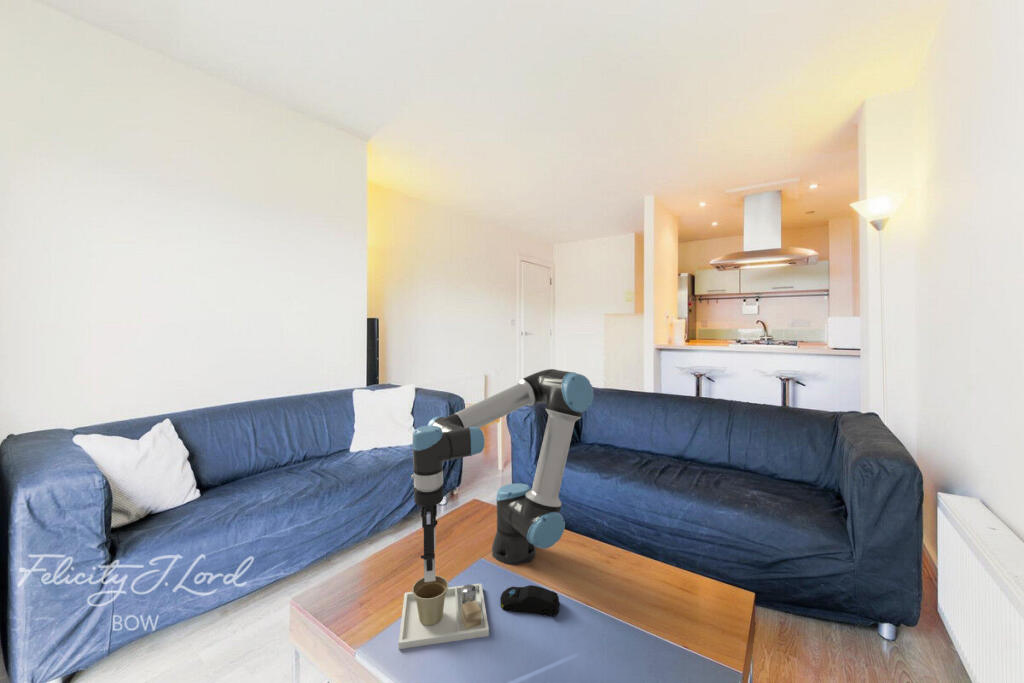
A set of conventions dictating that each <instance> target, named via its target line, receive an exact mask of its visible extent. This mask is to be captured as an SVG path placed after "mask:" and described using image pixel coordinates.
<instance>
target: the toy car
mask: <svg viewBox="0 0 1024 683" xmlns="http://www.w3.org/2000/svg"><path fill="white" fill-rule="evenodd" d="M500 608H501V609H502V610H503V611H505V612H512V613H522V614H531V615H532V614H533V615H539V616H542V617H543V616H547V617H548V616H549V617H554V616H556V615H558V614H559V612H560V598H559V595H558V593H557V592H555V591H552V590H549V589H547V588H544V587H542V586H537V585H533V584H531V585H530V584H529V585H526V586H509V587H507V588H506V589H505V590H504V591H503V592H502V593H501V595H500Z"/></svg>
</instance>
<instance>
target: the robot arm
mask: <svg viewBox="0 0 1024 683" xmlns="http://www.w3.org/2000/svg"><path fill="white" fill-rule="evenodd" d="M593 400H594V388H593V385H592V384H591V381H590V380H589V379H588V378H587V377H586V376H585V375H583V374H580V373H577V372H574V371H564V370H559V369H553V368H548V369H544V370H540V371H538V372H537V371H536V372H535V373H533V374H531V375H528V376H525V377H524V378H521V379H519V380H518V381H517V384H515V385H513V386H511V387H509V388H507V389H504V390H502V391H500V392H498V393H495V394H494V395H492V396H489V397H487V398H485V399H483V400H481V401H478V402H476V403H474V404H471V405H470V406H468V407H465V408H463V409H461V410H459V411H457V412H455V413H452V414H451V415H447V416H446V417H444V416H435V417H433V418H431V419H430V421H429V422H428V424H427V425H422V426H419V427H417V428H416V429H414V430H413V432H412V443H411V444H412V445H411V449H412V461H413V462H412V464H413V474H412V475H411V476H410V479H413V487H414V488H413V500H414V501H413V502H414V504H416V505H417V506H419V507H421V512H420V513H421V514H420V515H421V520H422V522H421V527H422V530H423V555H420V559H421V560H422V559H423V577H424V582H431V581H436V578H435V575H436V553H435V551H436V550H437V546H436V545H437V543H436V542H437V540H436V539H437V538H436V536H437V535H436V528H437V526H438V520H437V515H438V514H437V512H438V511H437V510H438V504H440V503H441V502H443V500H444V486H443V484H444V467H443V464H444V462H447V461H453V460H456V459H461V458H465V457H473V456H475V455H478V454H480V453H482V452H483V450H484V449H485V444H486V443H485V440H486V439H485V436H484V435H485V434H484V433H483V430H482V429H481V428H482V427H483V428H484V426H487V425H488V424H491V423H493V422H495V421H497V420H499V419H501V418H503V417H505V416H507V415H509V414H511V413H513V412H516V411H518V410H519V409H521V408H524V407H526V406H528V407H532V406H534V405H536V404H541V403H542V404H543V403H545V404H546V405H545V411H546V413H547V415H548V416H547V422H546V425H545V429H544V434H543V440H542V442H541V447H540V452H539V457H538V460H537V465H536V470H535V474H534V477H533V482H532V488H531V487H530V485H529V484H525V483H510V484H509V483H508V484H505V485H502V486H501V487H499V488H498V490H497V491H496V498H495V501H496V532H495V535H494V538H493V542H492V545H491V556H492V557H493V558H494V559H495V560H497V561H498V562H500V563H503V564H505V565H515V566H516V565H521V564H526V563H527V564H528V563H530V562H532V561H533V560H534V559H535V557H536V555H537V549H544V550H545V549H546V550H547V549H549V548H551V547H552V546H554V545H555V544H556V543H558V542H559V541H560V539H561V538H562V537H563V535H564V531H565V529H566V528H565V527H566V522H565V519H564V517H563V515H562V514H561V508H562V502H561V499H560V498H559V494H560V491H561V486H562V483H563V482H562V481H563V476H564V472H565V468H566V465H567V464H566V463H567V459H568V456H569V455H568V454H569V452H570V446H571V445H570V444H571V442H572V437H573V434H574V427H575V423H576V422H577V421H578V420H580V419H582V414H583V413H584V412H586V411H588V409H589V408H590V407H591V406H592V403H593Z"/></svg>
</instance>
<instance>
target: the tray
mask: <svg viewBox="0 0 1024 683" xmlns="http://www.w3.org/2000/svg"><path fill="white" fill-rule="evenodd" d="M471 585H474V586H475V588H476V602H477V604H478V605H479V607H480V609H481V625H478V626H476V627H473V628H470V629H467V630H466V627H465V625H464V623H463V621H462V609H461V605H462V595H461V589H462V587H463V586H465V585H459V586H458V585H457V586H451V587H450V586H448V589H447V591H446V595H445V600H444V608H443V617H442V619H441V620H440V621H439V622H438V623H436V624H434V625H432V624H431V625H428V626H427V625H424V624H422V623H421V622H420V620H419V614H418V609H417V603H416V599H415V597H414V595H413V593H412V591H408V592H407V591H406V592H404V595H403V602H402V604H403V605H402V612H401V613H402V614H401V619H400V627H399V628H400V629H399V635H398V636H399V637H398V644H397V645H398V650H403V649H404V650H405V649H410V648H417V647H423V646H425V647H426V646H430V645H437V644H444V643H449V642H457V641H465V640H470V639H471V640H472V639H478V638H485V637H489V636H490V628H489V622H488V617H487V610H486V604H485V598H484V597H485V596H484V592H483V591H484V590H483V584H482V583H481V582H480V583H473V584H471Z"/></svg>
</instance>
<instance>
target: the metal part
mask: <svg viewBox="0 0 1024 683" xmlns="http://www.w3.org/2000/svg"><path fill="white" fill-rule="evenodd" d="M462 586H463V587H462V589H461V595H462V604H465V603H468V602H471V601H475V600H476V588H475V586H474V585H472V584H466V585H465V586H464V585H462Z"/></svg>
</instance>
